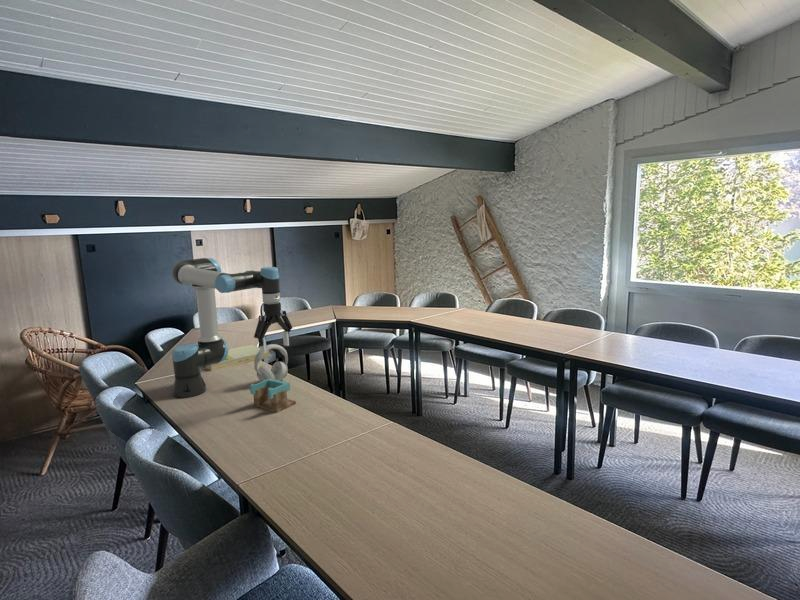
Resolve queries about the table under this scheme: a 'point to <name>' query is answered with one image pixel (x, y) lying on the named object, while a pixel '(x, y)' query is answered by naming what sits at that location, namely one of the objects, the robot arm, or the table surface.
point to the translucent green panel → (238, 357)
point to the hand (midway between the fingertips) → (275, 349)
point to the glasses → (272, 384)
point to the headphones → (277, 369)
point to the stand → (272, 400)
